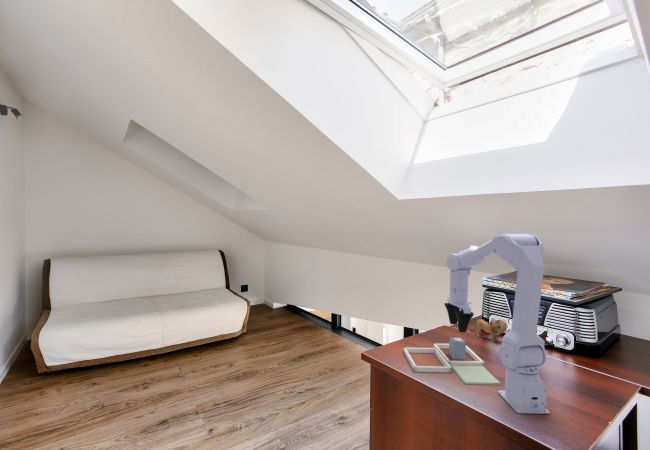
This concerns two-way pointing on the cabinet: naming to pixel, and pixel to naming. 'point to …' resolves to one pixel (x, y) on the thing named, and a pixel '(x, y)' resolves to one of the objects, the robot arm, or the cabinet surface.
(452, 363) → the cream rectangular frame
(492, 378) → the green mat
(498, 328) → the lion figurine
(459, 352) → the slate block
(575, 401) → the cabinet surface
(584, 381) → the cabinet surface
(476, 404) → the cabinet surface
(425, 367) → the grey rectangular frame
